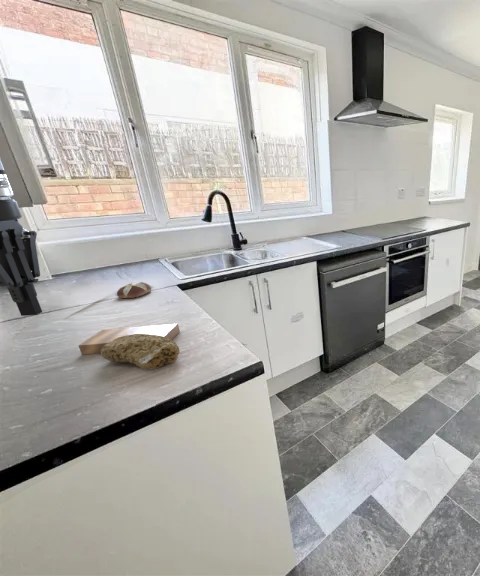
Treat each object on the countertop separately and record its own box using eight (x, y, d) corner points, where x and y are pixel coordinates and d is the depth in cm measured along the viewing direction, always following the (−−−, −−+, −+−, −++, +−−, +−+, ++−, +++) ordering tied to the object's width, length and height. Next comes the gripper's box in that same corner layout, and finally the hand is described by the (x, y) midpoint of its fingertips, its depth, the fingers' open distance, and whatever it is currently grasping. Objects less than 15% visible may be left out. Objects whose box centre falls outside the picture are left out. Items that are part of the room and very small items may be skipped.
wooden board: (81, 354, 89) (78, 345, 88) (105, 338, 98) (102, 329, 97) (165, 347, 92) (162, 338, 91) (180, 331, 102) (177, 323, 101)
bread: (156, 290, 141) (153, 279, 139) (137, 299, 130) (133, 288, 129) (133, 290, 141) (129, 279, 140) (111, 299, 131) (107, 288, 129)
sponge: (188, 360, 87) (151, 331, 95) (180, 340, 83) (141, 312, 91) (137, 392, 78) (100, 357, 86) (124, 372, 73) (87, 337, 82)
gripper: (-28, 201, 52) (25, 326, 60) (38, 196, 64) (75, 301, 72) (-83, 201, 51) (-22, 329, 59) (-5, 196, 63) (37, 303, 71)
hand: (32, 313), depth 65 cm, fingers closed
